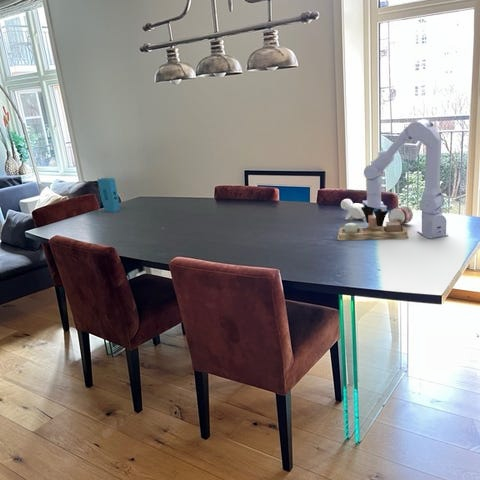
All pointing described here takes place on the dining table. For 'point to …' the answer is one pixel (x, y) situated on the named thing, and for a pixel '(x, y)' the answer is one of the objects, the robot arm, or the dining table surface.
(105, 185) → the block
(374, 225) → the terracotta block
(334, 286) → the dining table surface
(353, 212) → the white figurine
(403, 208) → the soda can
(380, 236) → the oak tray
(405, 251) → the dining table surface
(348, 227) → the seated pieces
